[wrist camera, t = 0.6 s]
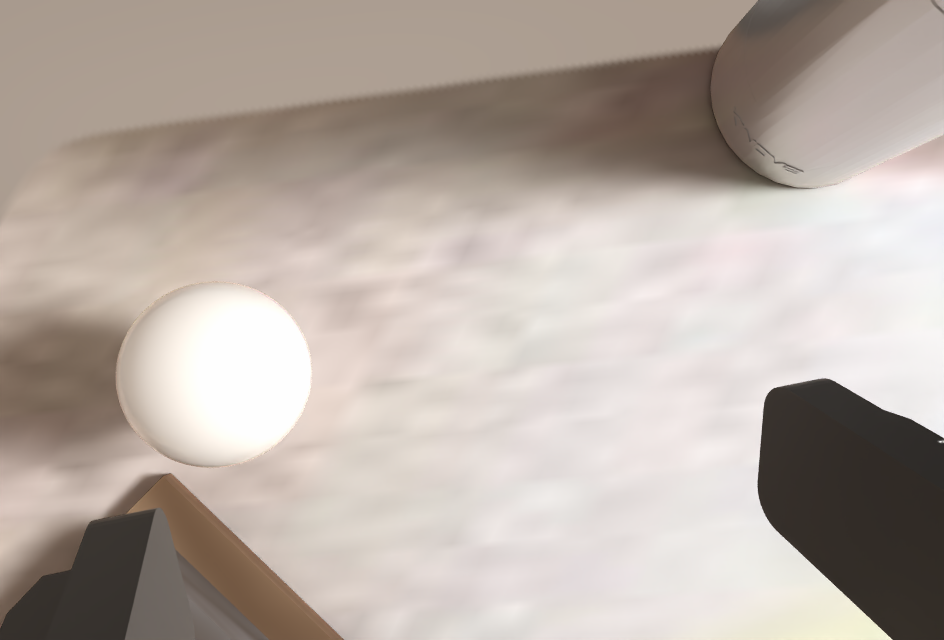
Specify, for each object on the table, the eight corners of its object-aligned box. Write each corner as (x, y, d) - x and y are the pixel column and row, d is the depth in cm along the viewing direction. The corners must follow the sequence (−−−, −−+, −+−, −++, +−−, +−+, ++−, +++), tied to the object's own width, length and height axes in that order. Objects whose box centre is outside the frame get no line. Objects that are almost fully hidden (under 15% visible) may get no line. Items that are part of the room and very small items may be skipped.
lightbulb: (168, 398, 33) (37, 409, 22) (245, 277, 34) (156, 230, 23) (290, 472, 33) (220, 519, 22) (365, 350, 34) (333, 337, 23)
